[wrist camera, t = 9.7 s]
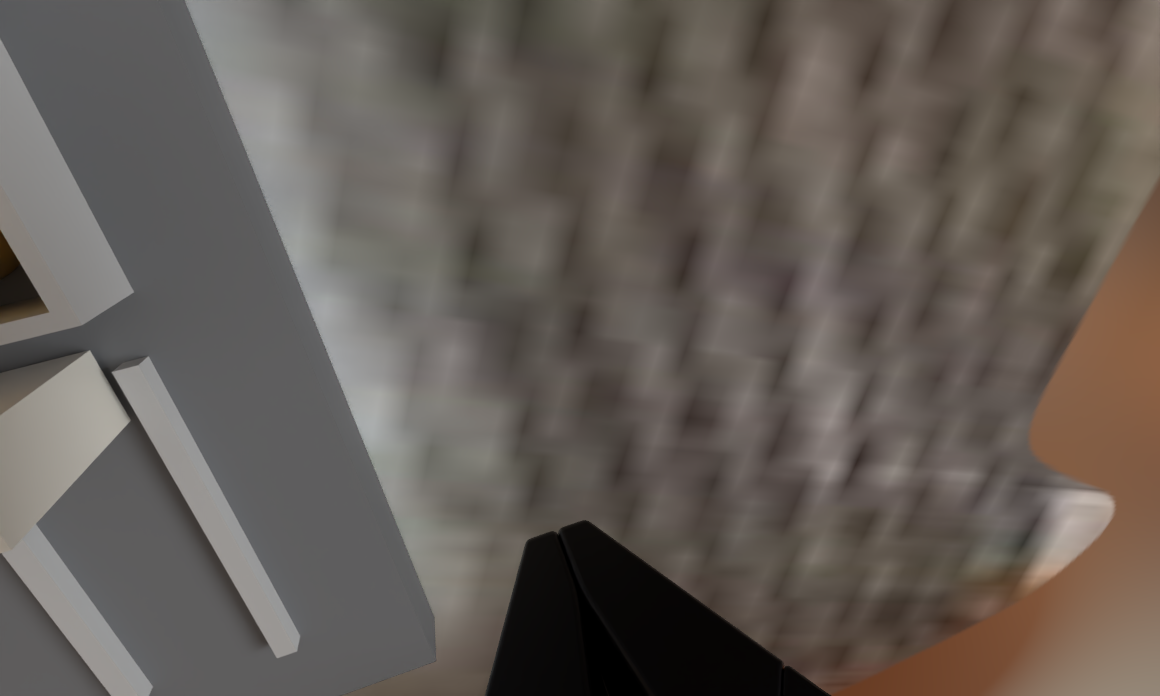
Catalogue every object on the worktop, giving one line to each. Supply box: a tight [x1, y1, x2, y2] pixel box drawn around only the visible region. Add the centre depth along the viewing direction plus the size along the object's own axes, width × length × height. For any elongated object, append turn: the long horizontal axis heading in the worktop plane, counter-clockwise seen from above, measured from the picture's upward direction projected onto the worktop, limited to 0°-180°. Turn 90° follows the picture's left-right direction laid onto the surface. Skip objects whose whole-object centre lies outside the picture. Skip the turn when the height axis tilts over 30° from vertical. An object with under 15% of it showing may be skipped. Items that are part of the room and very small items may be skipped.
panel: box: [0, 0, 436, 696], centre depth 14 cm, size 27×12×4 cm, turn 11°
